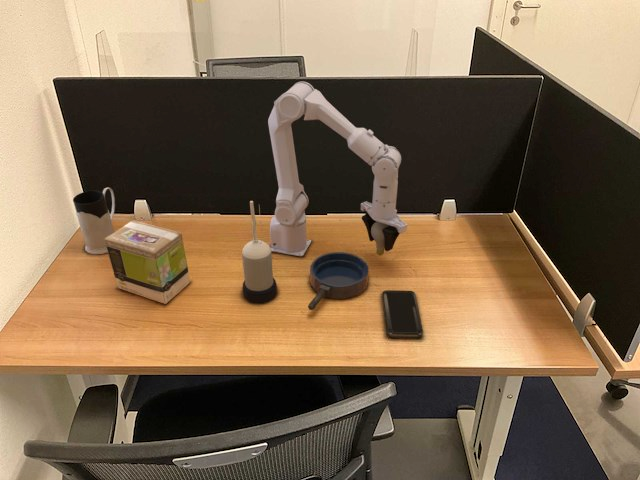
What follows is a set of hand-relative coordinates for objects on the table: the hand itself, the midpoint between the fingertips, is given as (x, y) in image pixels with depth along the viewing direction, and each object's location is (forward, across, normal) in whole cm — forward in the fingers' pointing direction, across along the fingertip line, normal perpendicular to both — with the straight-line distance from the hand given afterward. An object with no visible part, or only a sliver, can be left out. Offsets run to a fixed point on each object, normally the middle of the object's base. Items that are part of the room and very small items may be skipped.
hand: (380, 244), depth 130 cm
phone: (+6, -18, +10) cm, 22 cm away
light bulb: (+3, 0, 0) cm, 3 cm away
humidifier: (+6, +8, +32) cm, 33 cm away
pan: (+6, 0, +14) cm, 15 cm away
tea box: (+6, +27, +51) cm, 58 cm away
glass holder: (+6, +55, +53) cm, 76 cm away
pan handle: (+3, -4, +23) cm, 24 cm away
